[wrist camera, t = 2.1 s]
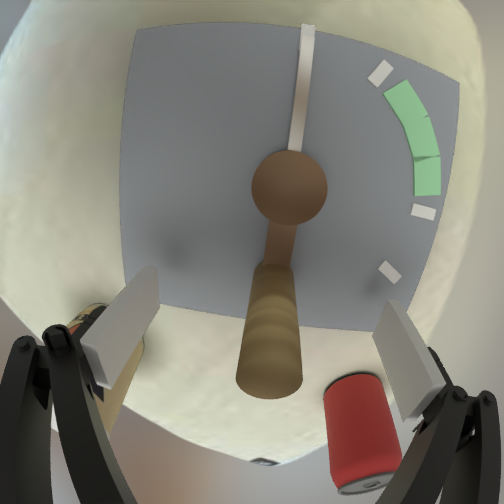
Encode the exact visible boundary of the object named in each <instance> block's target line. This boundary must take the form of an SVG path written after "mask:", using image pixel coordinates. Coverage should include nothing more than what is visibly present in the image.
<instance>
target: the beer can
mask: <svg viewBox="0 0 504 504" xmlns="http://www.w3.org/2000/svg"><path fill="white" fill-rule="evenodd" d="M323 400H324V409H325V418H326V428H327V438H328V448H329V460H330V473H331V476H332V479H333V482H334V483H335V485H336V487H337V488H338V494H340V495H346V496H349V495H358V494H364V493H368V492H372V491H375V490H378V489H381V488H384V487H386V486H387V485H388V484H389V482H390V480H391V479H392V477H393V475H394V474H395V472H396V470H397V468H398V467H399V465H400V463H401V461H402V452H401V448H400V444H399V440H398V437H397V433H396V429H395V426H394V422H393V418H392V415H391V412H390V408H389V405H388V402H387V398H386V395H385V392H384V389H383V386H382V383H381V381H380V380H379V379H378V378H376V377H375V376H373V375H368V374H355V375H351V376H347V377H345V378H343V379H340V380H338V381H337V382H335V383H334V384H332V385H331V386H330V388H329V389H328V390H327V391H326V393H325V395H324V398H323Z"/></svg>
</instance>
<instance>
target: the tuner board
mask: <svg viewBox="0 0 504 504" xmlns="http://www.w3.org/2000/svg"><path fill="white" fill-rule="evenodd" d="M302 35H307V36H312V37H315V41H314V51H313V60H312V70H311V78H310V87H309V95H308V103H307V111H306V119H305V126H304V133H303V140H302V147H301V153H303V154H306V155H308V156H309V157H311V158H312V159H314V160H315V161H316V162H317V163H318V164H319V165H320V167H321V168H322V170H323V172H324V174H325V176H326V180H327V185H328V191H327V197H326V201H325V203H324V205H323V207H322V209H321V210H320V211H319V213H318V214H317V215H316V216H315V217H313V218H312V219H310V220H309V221H307V222H305V223H302V224H299V225H297V230H296V236H295V241H294V246H293V252H292V257H291V262H290V267H291V269H292V271H293V275H294V284H295V294H296V304H297V314H298V325H299V326H307V327H317V328H328V329H340V330H353V331H368V332H374V331H375V329H376V326H377V324H378V322H379V319H380V317H381V315H382V312H383V310H384V308H385V305H386V303H387V300H388V299H393V300H399V301H400V303H401V305H402V306H403V308H404V309H405V311H406V312H407V310H408V307H409V305H410V303H411V301H412V298H413V296H414V293H415V291H416V288H417V286H418V283H419V281H420V278H421V276H422V273H423V270H424V268H425V265H426V262H427V259H428V256H429V253H430V250H431V247H432V244H433V241H434V238H435V234H436V231H437V228H438V224H439V220H440V217H441V213H442V209H443V205H444V201H445V197H446V192H447V188H448V183H449V178H450V173H451V167H452V161H453V155H454V148H455V141H456V132H457V122H458V109H459V82H457V81H455V80H453V79H452V78H450V77H448V76H446V75H444V74H442V73H440V72H438V71H436V70H434V69H432V68H430V67H427V66H425V65H423V64H421V63H419V62H416V61H414V60H412V59H409V58H407V57H404V56H402V55H399V54H396V53H394V52H391V51H388V50H385V49H383V48H380V47H377V46H373V45H370V44H367V43H364V42H360V41H357V40H353V39H349V38H346V37H342V36H337V35H333V34H329V33H324V32H319V31H315V26H314V25H309V24H303V23H302V25H301V28H296V27H289V26H281V25H271V24H259V23H240V22H208V23H189V24H177V25H168V26H160V27H153V28H146V29H140V30H137V31H136V36H135V40H134V45H133V50H132V55H131V60H130V66H129V72H128V78H127V85H126V92H125V100H124V109H123V119H122V131H121V147H120V181H119V191H120V226H121V242H122V255H123V265H124V275H125V283H126V285H127V284H128V283H129V282H130V281H131V280H132V279H133V278H134V277H135V276H136V274H137V273H138V272H139V271H140V270H141V269H142V268H143V267H144V266H145V265H147V266H152V267H157V272H158V290H159V303H160V304H165V305H169V306H175V307H180V308H185V309H190V310H196V311H201V312H207V313H213V314H219V315H225V316H231V317H237V318H244V319H246V315H247V309H248V303H249V297H250V291H251V286H252V280H253V274H254V270H255V268H256V267H257V265H258V264H259V263H261V262H262V261H263V259H264V253H265V246H266V239H267V232H268V226H269V219H268V218H266V217H265V216H264V215H263V214H262V213H261V212H260V211H259V210H258V208H257V207H256V205H255V203H254V200H253V197H252V191H251V185H252V179H253V176H254V173H255V171H256V169H257V168H258V166H259V165H260V163H261V162H262V161H263V160H264V159H265V158H266V157H268V156H269V155H271V154H273V153H275V152H278V151H282V150H287V149H288V142H289V134H290V127H291V119H292V112H293V104H294V96H295V88H296V80H297V72H298V63H299V55H300V46H301V38H302Z"/></svg>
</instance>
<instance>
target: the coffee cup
mask: <svg viewBox="0 0 504 504" xmlns="http://www.w3.org/2000/svg"><path fill="white" fill-rule="evenodd" d="M101 305H104V304H93V305H90V306H89V307H87V308H86V309H85V310H83V311H82V312H81V313H80V314H79V315H78V316H77V317H75V318H74V319H73V320H72V321H71V322H70V323H69V324H68V325H67V326H66V327H67V328H68V329H69V331H70V334H72V333H73V332H74V331H75V330H76V329H77V327H78V326H79V325H80V324H81V323H83V321H84V319H85V318H86V317H88V315H89V314H90V313H91V312H92V310H94V309H95V308H97V307H99V306H101ZM104 306H107V305H104ZM107 307H108V306H107ZM143 351H144V342H143V339H142V337H141V339H140V341H139V342H138V344H137V346H136V347H135V349H134V351H133V353H132V354H131V356H130V358H129V359H128V361H127V363H126V364H125V366H124V368H123V370H122V371H121V373H120V375H119V377H118V378H117V380H116V382H115V384H114V385H113V387H112V389H111V390H110V389H108V388H105V387H102V386H100V385H97V383H96V381H95V379H94V376H93V378H92V380H91V381H90V384H91V386H92V390H93V394H94V397H95V401H96V404H97V407H98V411H99V414H100V417H101V420H102V423H103V426H104V429H105V432H106V435H107V437H108V440H110V436H109V435H110V433H111V430H112V428H113V425H114V423H115V421H116V418H117V415H118V413H119V410H120V408H121V405H122V403H123V401H124V398H125V396H126V393H127V391H128V388H129V386H130V383H131V381H132V379H133V376H134V374H135V371H136V369H137V367H138V364H139V362H140V359H141V357H142V354H143ZM51 427H52V428H53V429H54V430H56V431H57V432H58V427H57V422H56V417H55V411H54V405H53V407H52V418H51ZM58 433H59V432H58Z"/></svg>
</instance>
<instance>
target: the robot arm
mask: <svg viewBox="0 0 504 504" xmlns="http://www.w3.org/2000/svg"><path fill="white" fill-rule="evenodd" d="M159 308H160V304H159V290H158V272H157V267H152V266H147V265H145V266H144V267H143V268H142V269H141V270H140V271H139V272H138V273H137V274H136V276H135V277H134V278H133V279H132V280H131V281H130V282H129V283H128V284H127V285H126V287H125V288H124V289H123V290H122V291H121V292H120V293H119V294H118V295H117V297H116V298H115V299H114V300H113V301H112V302H111V303H110V305H109V306H108V307H107V306H104V305H101V306H99V307H97V308H95V309H94V310H92V312H91V313H90V314H89V315H88V317H86V318H85V319H84V321H83V323H81V324H80V325H79V326H78V327H77V329H76V330H75V331H74V332H73V333H72V334H70V331H69V329H68V328H67V327H66V326H65V325H61V324H57V325H52V326H50V327H48V328H47V329H45V331H44V332H43V334H42V339H43V342H44V344H45V346H39V345H37V344H36V341H35V339H34V338H33V337H31V336H22V337H20V338H18V339H17V340H16V341H15V342H14V344H13V346H12V349H11V352H10V355H9V357H8V361H7V364H6V367H5V370H4V374H3V377H2V380H1V384H0V504H53V499H52V487H51V471H50V436H51V418H52V407H53V405H54V411H55V417H56V422H57V427H58V432H59V436H60V441H61V445H62V449H63V453H64V456H65V459H66V463H67V467H68V470H69V473H70V476H71V479H72V482H73V485H74V488H75V490H76V493H77V496H78V498H79V501H80V503H81V504H137V501H136V500H135V498H134V496H133V494H132V492H131V490H130V488H129V486H128V484H127V482H126V480H125V478H124V476H123V474H122V471H121V469H120V467H119V465H118V463H117V460H116V458H115V455H114V453H113V450H112V448H111V445H110V443H109V440H108V437H107V435H106V432H105V429H104V426H103V423H102V420H101V417H100V414H99V411H98V407H97V404H96V401H95V397H94V394H93V390H92V386H91V384H90V381H91V380H92V378H93V376H94V379H95V381H96V383H97V385H100V386H102V387H105V388H108V389H110V390H111V389H112V387H113V385H114V384H115V382H116V380H117V378H118V377H119V375H120V373H121V371H122V370H123V368H124V366H125V364H126V363H127V361H128V359H129V358H130V356H131V354H132V353H133V351H134V349H135V347H136V346H137V344H138V342H139V341H140V339H141V337H142V336H143V334H144V333H145V331H146V329H147V328H148V326H149V324H150V323H151V321H152V320H153V318H154V316H155V315H156V313H157V311H158V310H159ZM372 337H373V339H374V342H375V344H376V347H377V349H378V352H379V354H380V357H381V360H382V362H383V365H384V368H385V371H386V373H387V376H388V379H389V382H390V385H391V388H392V390H393V393H394V396H395V399H396V402H397V405H398V408H399V412H400V415H401V418H402V421H403V422H410V421H415V420H416V419H417V418H418V417H419V416H420V415H421V414H423V417H424V419H423V420H422V421H421V422H420V423H419V424H418V425H417V427H415V428H414V430H413V432H415V431H416V430H417V431H416V433H415V436H414V438H413V440H412V442H411V444H410V446H409V448H408V450H407V452H406V454H405V456H404V458H403V459H402V461H401V463H400V465H399V467H398V468H397V470H396V472H395V474H394V475H393V477H392V479H391V480H390V482H389V484H388V485H387V487H386V488H385V490H384V491H383V493H382V494H381V496H380V498H379V499H378V501H377V502H376V503H375V504H435V503H436V500H437V498H438V496H439V494H440V492H441V489H442V487H443V489H442V494H441V499H440V503H439V504H498V501H499V492H500V478H501V439H500V425H499V415H498V407H497V401H496V398H495V396H494V395H493V394H492V393H491V392H489V391H485V390H484V391H482V392H481V393H480V394H479V395H478V396H477V397H472V396H468V394H467V393H466V391H465V390H464V389H463V388H461V387H459V386H454V385H453V383H452V381H451V379H450V378H449V376H448V374H447V372H446V370H445V368H444V367H443V364H442V363H441V361H440V359H439V357H438V355H437V354H436V352H435V351H434V350H432V349H431V347H427V346H426V345H425V343H424V341H423V339H422V338H421V336H420V334H419V332H418V331H417V329H416V327H415V326H414V324H413V322H412V321H411V319H410V317H409V316H408V314H407V313H406V311H405V309H404V308H403V306H402V305H401V303H400V301H399V300H393V299H388V300H387V303H386V305H385V308H384V310H383V312H382V315H381V317H380V319H379V322H378V324H377V326H376V329H375V331H374V333H373V335H372ZM474 429H475V434H474V435H472V431H473V430H474Z"/></svg>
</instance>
